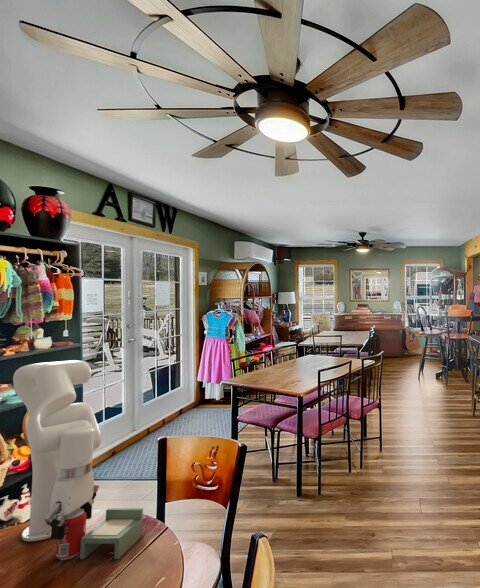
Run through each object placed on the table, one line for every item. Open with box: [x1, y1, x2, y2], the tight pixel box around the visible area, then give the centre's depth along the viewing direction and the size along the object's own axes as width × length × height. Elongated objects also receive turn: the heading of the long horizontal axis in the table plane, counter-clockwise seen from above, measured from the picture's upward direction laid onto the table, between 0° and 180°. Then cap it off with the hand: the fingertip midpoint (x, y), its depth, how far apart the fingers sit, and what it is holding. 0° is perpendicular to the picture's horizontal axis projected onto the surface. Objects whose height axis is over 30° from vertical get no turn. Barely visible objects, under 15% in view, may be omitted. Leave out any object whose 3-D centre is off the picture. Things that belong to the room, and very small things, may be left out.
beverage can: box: [55, 508, 87, 561], centre depth 102 cm, size 6×6×12 cm
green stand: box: [79, 507, 144, 560], centre depth 106 cm, size 11×10×9 cm
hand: (72, 528), depth 102 cm, fingers open, 8 cm apart
